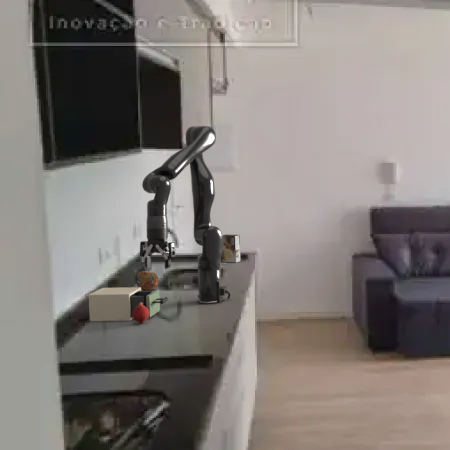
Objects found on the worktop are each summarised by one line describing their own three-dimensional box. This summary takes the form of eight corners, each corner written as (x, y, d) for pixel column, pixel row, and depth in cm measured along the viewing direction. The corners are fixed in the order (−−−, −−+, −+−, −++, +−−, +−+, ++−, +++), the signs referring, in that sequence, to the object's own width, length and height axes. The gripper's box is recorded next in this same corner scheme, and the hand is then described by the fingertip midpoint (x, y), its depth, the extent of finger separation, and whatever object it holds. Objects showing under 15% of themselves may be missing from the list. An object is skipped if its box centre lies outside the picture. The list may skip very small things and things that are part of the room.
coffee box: (241, 261, 378) (240, 234, 376) (236, 262, 371) (235, 235, 370) (226, 260, 379) (226, 234, 377) (221, 262, 373) (220, 235, 371)
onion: (143, 326, 232) (142, 304, 231) (129, 325, 233) (128, 304, 232) (152, 322, 237) (152, 301, 237) (139, 321, 239) (138, 300, 238)
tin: (135, 287, 299) (134, 270, 298) (141, 286, 302) (140, 269, 301) (153, 291, 291) (153, 273, 290) (160, 290, 293) (159, 272, 293)
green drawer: (170, 310, 252) (170, 289, 251) (161, 317, 241) (160, 295, 240) (124, 310, 251) (123, 290, 250) (113, 318, 239) (112, 296, 238)
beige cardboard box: (142, 312, 252) (141, 287, 251) (130, 320, 239) (129, 294, 238) (103, 313, 250) (102, 287, 249) (89, 321, 238) (88, 294, 237)
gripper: (179, 226, 245) (179, 268, 246) (147, 225, 248) (148, 266, 249) (167, 228, 237) (167, 270, 239) (134, 227, 241) (135, 268, 242)
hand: (157, 268), depth 244 cm, fingers open, 8 cm apart
